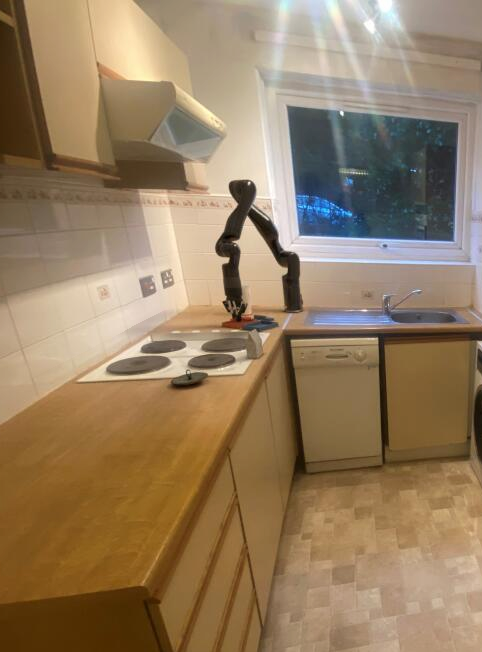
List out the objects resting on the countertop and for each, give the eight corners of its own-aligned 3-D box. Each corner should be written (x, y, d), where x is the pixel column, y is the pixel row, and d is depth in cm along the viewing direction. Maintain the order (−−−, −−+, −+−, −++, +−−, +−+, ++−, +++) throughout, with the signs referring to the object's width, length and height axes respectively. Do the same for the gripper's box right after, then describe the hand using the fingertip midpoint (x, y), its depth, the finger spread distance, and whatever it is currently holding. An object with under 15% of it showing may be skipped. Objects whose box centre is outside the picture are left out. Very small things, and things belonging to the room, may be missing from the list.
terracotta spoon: (235, 323, 208) (234, 319, 208) (229, 322, 209) (228, 318, 209) (251, 319, 218) (250, 315, 217) (245, 318, 219) (245, 314, 218)
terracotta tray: (242, 321, 221) (242, 317, 221) (258, 323, 219) (258, 319, 218) (222, 326, 209) (221, 322, 209) (238, 328, 207) (238, 324, 206)
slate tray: (262, 323, 218) (261, 320, 217) (278, 326, 216) (278, 322, 215) (242, 329, 206) (242, 325, 206) (259, 331, 204) (259, 327, 203)
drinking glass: (239, 313, 238) (235, 285, 232) (253, 312, 241) (249, 285, 235) (239, 315, 232) (235, 287, 227) (253, 315, 235) (250, 287, 230)
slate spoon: (252, 319, 227) (252, 315, 226) (257, 317, 230) (257, 314, 229) (269, 321, 224) (269, 317, 223) (274, 320, 227) (273, 316, 226)
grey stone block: (263, 353, 173) (260, 329, 170) (257, 358, 167) (254, 333, 163) (253, 353, 173) (250, 328, 169) (247, 358, 166) (244, 332, 163)
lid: (210, 389, 140) (212, 374, 139) (174, 388, 133) (175, 372, 132) (202, 381, 147) (204, 367, 146) (167, 379, 140) (169, 364, 139)
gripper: (250, 286, 207) (254, 321, 213) (227, 283, 211) (231, 318, 217) (238, 288, 201) (243, 324, 207) (214, 285, 204) (219, 321, 210)
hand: (237, 321), depth 212 cm, fingers closed on terracotta spoon, 2 cm apart
